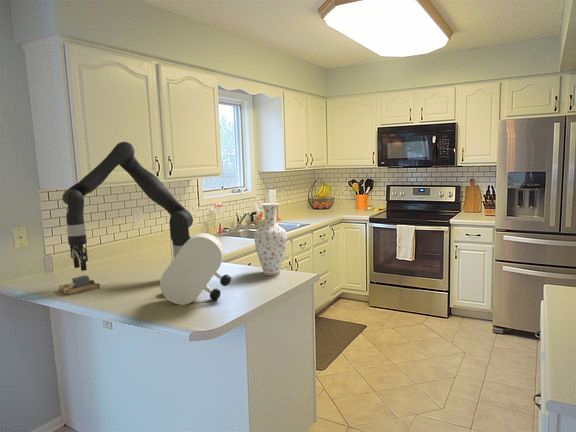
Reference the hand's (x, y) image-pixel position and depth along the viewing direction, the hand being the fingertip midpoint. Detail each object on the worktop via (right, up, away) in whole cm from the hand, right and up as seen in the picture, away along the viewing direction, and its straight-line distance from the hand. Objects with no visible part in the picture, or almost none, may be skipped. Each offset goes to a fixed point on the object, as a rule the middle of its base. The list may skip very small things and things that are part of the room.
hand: (80, 269), depth 202 cm
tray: (-1, -9, +1) cm, 10 cm away
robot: (+58, -11, -19) cm, 62 cm away
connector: (0, -8, +2) cm, 9 cm away
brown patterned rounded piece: (+45, -10, -9) cm, 47 cm away
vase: (+87, -5, +21) cm, 89 cm away
